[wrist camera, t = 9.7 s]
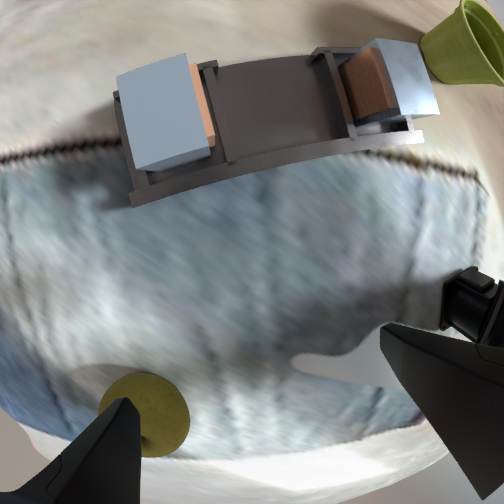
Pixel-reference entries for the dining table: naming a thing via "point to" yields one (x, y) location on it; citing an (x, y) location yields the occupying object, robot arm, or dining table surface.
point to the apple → (153, 411)
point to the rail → (297, 112)
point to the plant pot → (466, 47)
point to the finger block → (166, 114)
